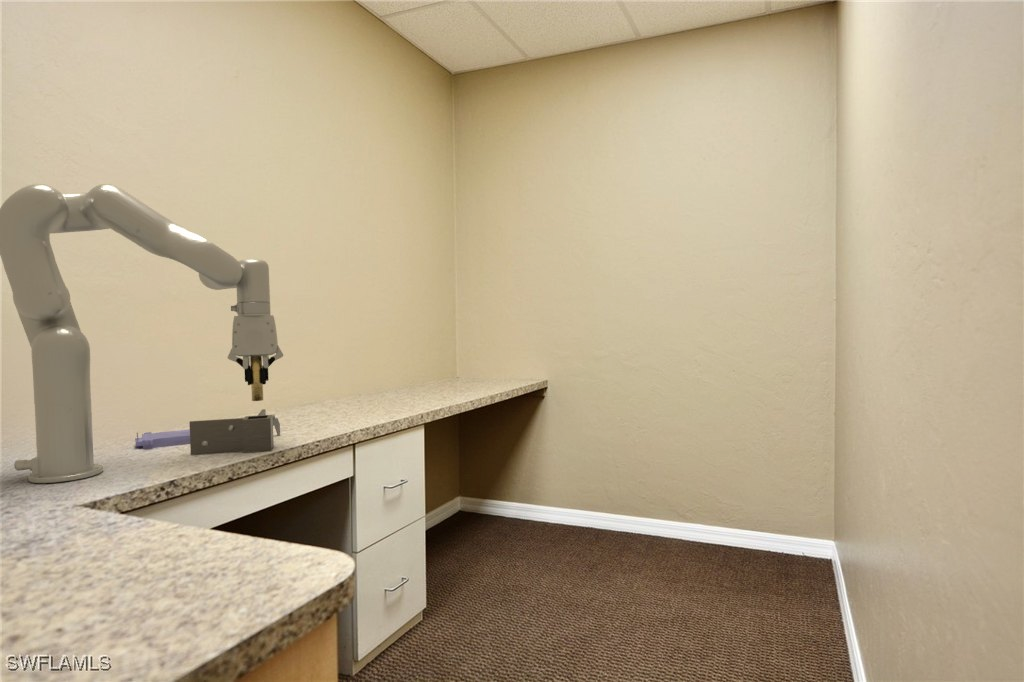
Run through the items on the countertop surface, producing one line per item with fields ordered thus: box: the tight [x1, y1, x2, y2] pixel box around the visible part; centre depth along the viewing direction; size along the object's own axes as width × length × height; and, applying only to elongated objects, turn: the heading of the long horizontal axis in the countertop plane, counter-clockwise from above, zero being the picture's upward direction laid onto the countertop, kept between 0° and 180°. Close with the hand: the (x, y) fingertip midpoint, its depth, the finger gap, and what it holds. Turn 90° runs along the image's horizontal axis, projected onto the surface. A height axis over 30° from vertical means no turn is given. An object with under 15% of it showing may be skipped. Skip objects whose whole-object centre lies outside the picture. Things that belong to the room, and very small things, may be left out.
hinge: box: [189, 409, 275, 456], centre depth 155 cm, size 18×18×8 cm
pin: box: [249, 356, 264, 402], centre depth 151 cm, size 3×3×12 cm
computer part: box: [134, 429, 190, 450], centre depth 167 cm, size 30×4×15 cm
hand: (257, 383), depth 151 cm, fingers closed on pin, 2 cm apart
